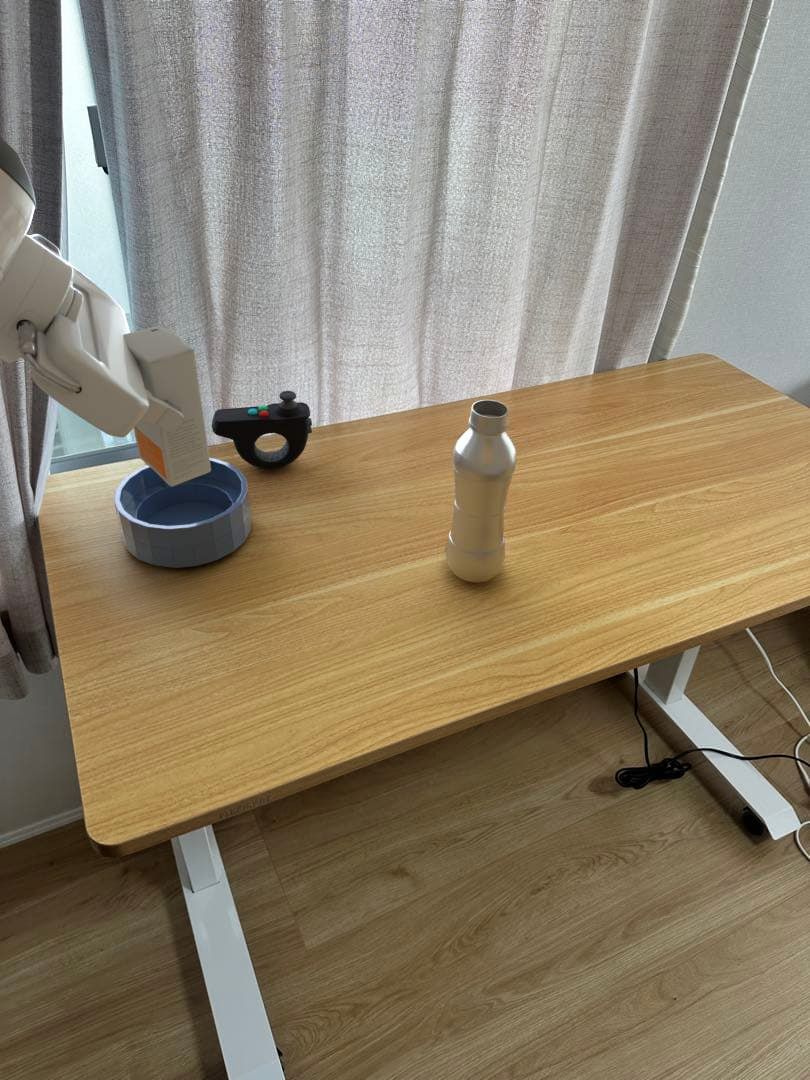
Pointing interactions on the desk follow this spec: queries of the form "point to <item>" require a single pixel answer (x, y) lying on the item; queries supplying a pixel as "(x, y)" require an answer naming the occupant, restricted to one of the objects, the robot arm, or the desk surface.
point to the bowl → (184, 516)
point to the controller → (266, 430)
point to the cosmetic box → (176, 381)
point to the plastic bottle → (481, 493)
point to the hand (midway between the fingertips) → (171, 399)
